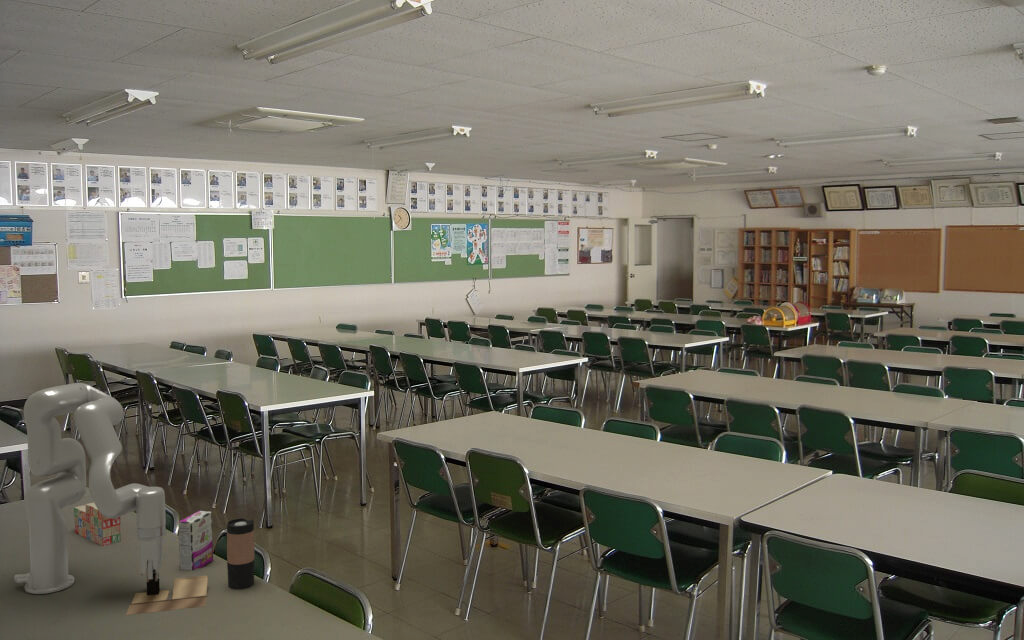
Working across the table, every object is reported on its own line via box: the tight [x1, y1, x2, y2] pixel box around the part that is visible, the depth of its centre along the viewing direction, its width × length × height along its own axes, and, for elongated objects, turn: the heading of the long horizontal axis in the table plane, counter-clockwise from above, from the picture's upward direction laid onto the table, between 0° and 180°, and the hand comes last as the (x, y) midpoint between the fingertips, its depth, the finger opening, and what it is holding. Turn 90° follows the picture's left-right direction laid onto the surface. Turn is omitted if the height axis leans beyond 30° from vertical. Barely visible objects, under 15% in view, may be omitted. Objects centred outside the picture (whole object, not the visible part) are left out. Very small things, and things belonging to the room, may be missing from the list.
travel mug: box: [226, 517, 256, 590], centre depth 231 cm, size 8×8×20 cm
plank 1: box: [130, 589, 170, 604], centre depth 222 cm, size 9×7×1 cm
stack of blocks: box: [73, 501, 121, 547], centre depth 272 cm, size 21×6×12 cm, turn 52°
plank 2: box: [172, 574, 209, 599], centre depth 225 cm, size 9×7×1 cm
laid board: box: [125, 595, 208, 616], centre depth 217 cm, size 20×7×1 cm, turn 107°
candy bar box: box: [177, 510, 214, 571], centre depth 246 cm, size 11×5×16 cm, turn 168°
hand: (153, 593), depth 224 cm, fingers closed
